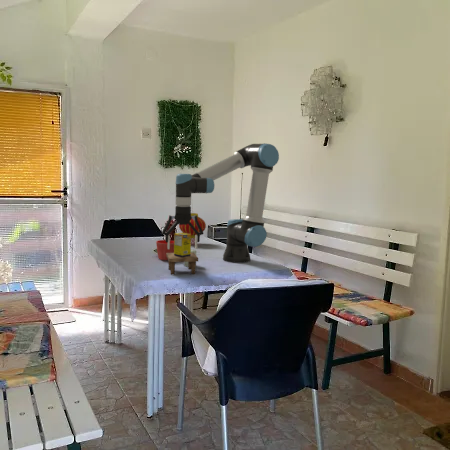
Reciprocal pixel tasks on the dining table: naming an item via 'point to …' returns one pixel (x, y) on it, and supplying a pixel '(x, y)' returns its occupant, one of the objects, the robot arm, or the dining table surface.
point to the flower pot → (164, 249)
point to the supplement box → (182, 244)
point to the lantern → (190, 231)
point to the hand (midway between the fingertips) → (182, 248)
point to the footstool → (190, 259)
